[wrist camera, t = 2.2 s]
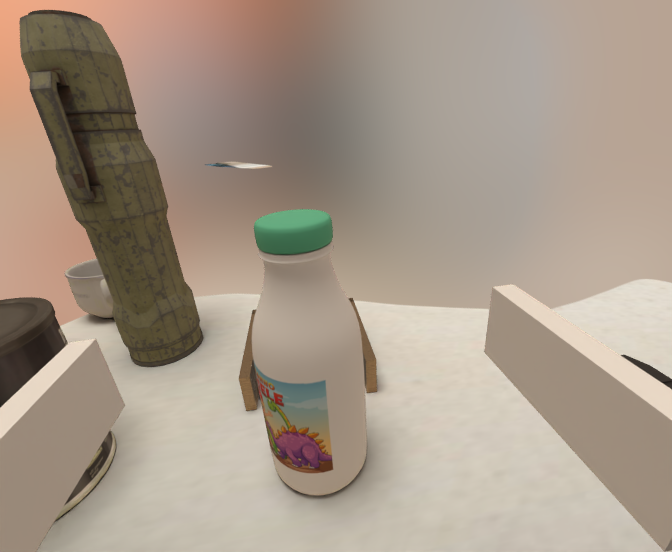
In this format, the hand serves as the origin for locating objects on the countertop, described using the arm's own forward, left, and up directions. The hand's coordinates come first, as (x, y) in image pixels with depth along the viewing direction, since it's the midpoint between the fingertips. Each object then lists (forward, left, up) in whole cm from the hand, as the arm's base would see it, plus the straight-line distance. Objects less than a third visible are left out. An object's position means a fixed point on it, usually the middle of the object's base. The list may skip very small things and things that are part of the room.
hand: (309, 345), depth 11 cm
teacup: (-42, +28, -18) cm, 54 cm away
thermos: (-28, +21, -18) cm, 39 cm away
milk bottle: (-4, +9, -18) cm, 21 cm away
